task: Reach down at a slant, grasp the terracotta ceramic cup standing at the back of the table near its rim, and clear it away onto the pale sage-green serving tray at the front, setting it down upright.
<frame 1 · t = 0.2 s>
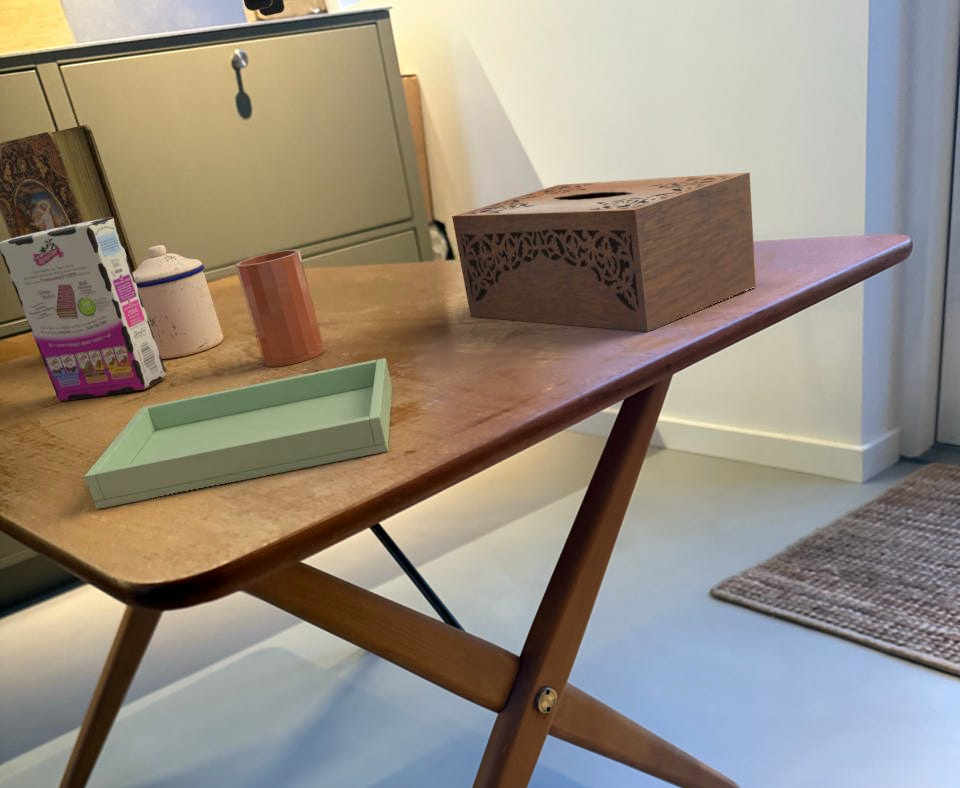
hand: (267, 11, 87), 30 cm above the table, tool pointing down, fingers open, 8 cm apart
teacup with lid: (177, 353, 122), on the table
tray: (257, 443, 82), on the table
cup: (294, 356, 107), on the table
book: (106, 352, 132), on the table
tissue box cover: (604, 304, 102), on the table
candy bar box: (114, 391, 110), on the table
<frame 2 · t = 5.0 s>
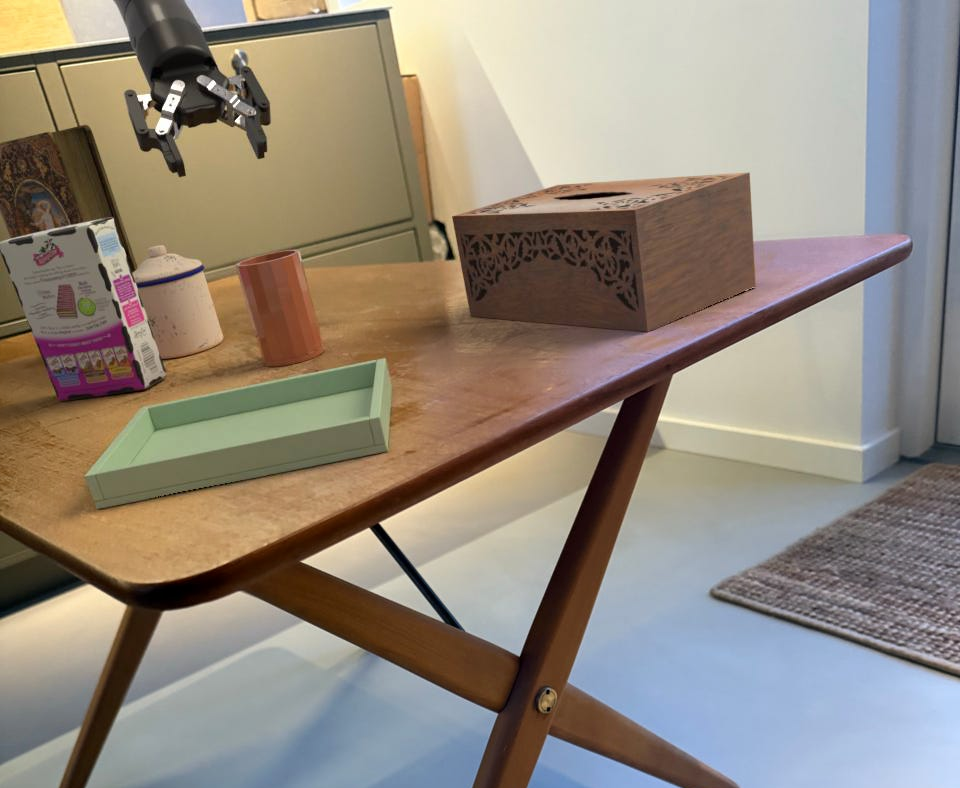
hand: (221, 161, 107), 19 cm above the table, tool tilted 45°, fingers open, 8 cm apart
nothing on the table moved.
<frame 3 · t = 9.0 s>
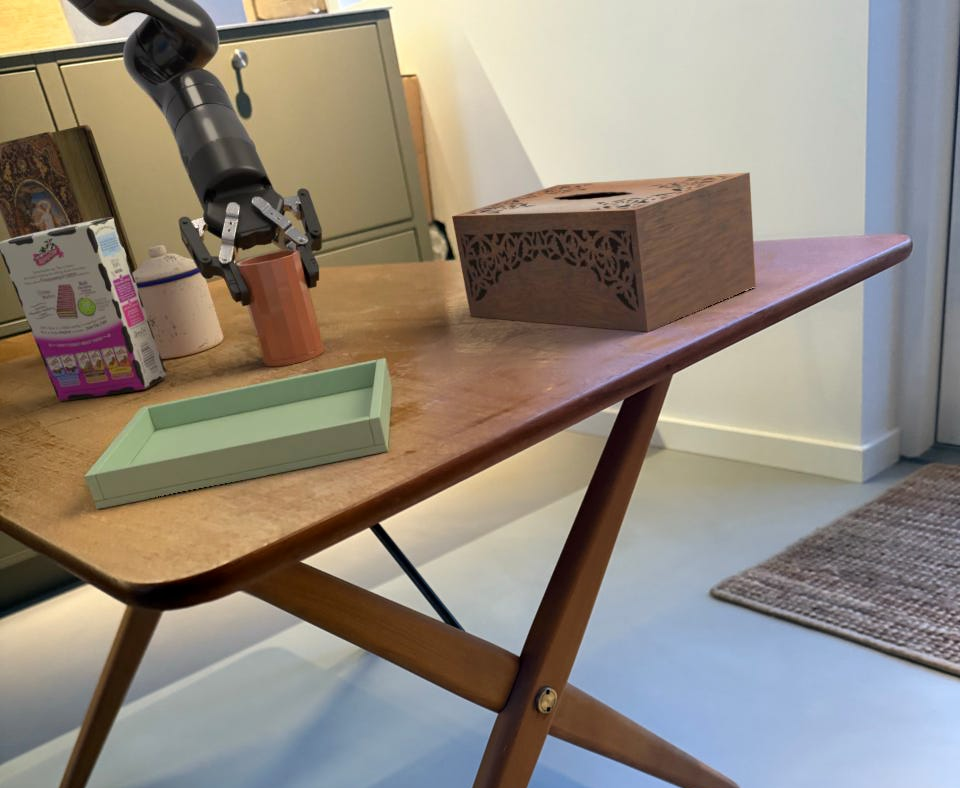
hand: (279, 291, 103), 7 cm above the table, tool tilted 45°, fingers closed on cup, 6 cm apart
cup: (294, 356, 107), on the table, touching gripper
everything else where it was.
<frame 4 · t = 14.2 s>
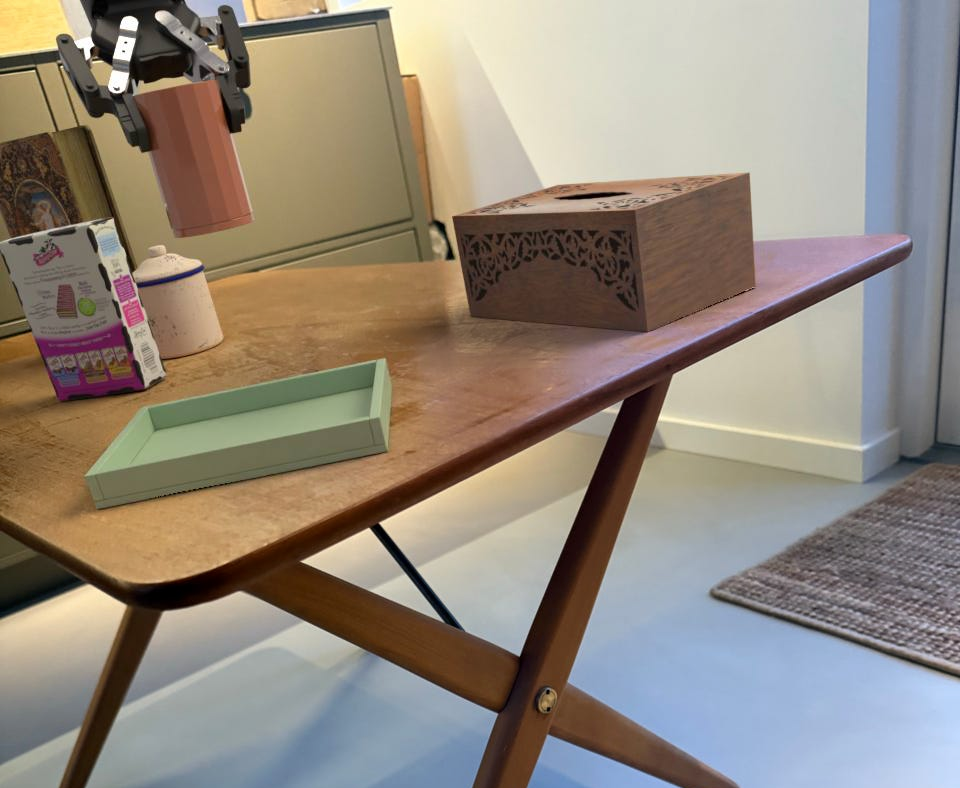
hand: (190, 133, 77), 22 cm above the table, tool tilted 45°, fingers closed on cup, 6 cm apart
cup: (214, 228, 82), point 15 cm above the table, touching gripper
everything else where it was.
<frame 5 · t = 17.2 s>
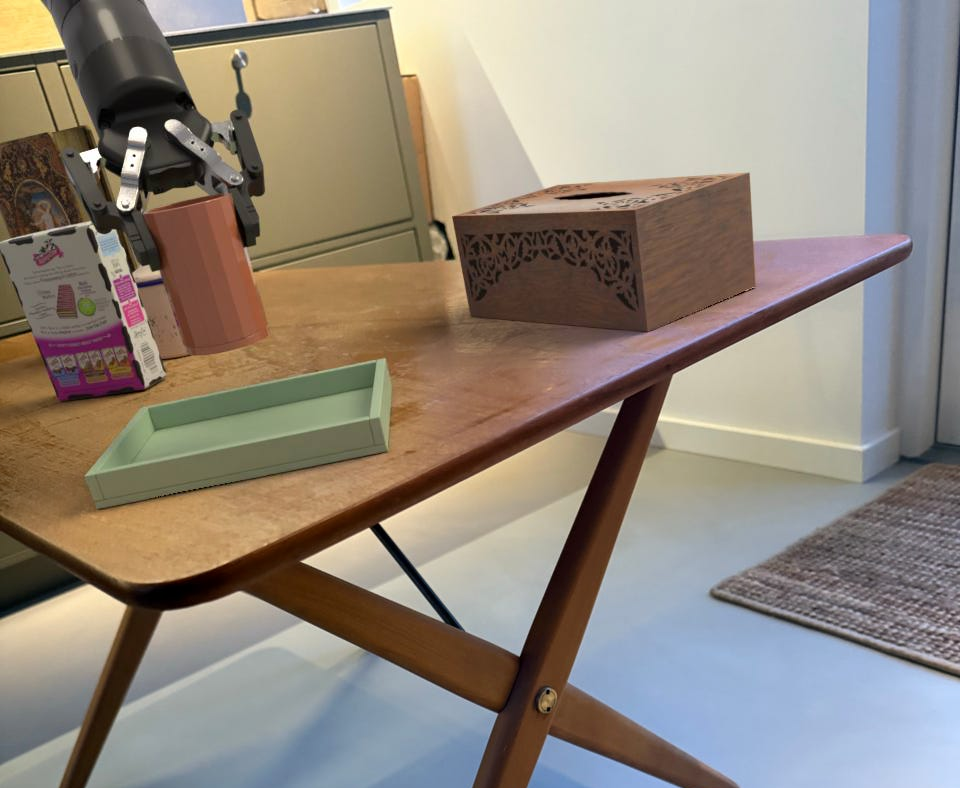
hand: (203, 250, 73), 15 cm above the table, tool tilted 45°, fingers closed on cup, 6 cm apart
cup: (228, 342, 78), point 8 cm above the table, touching gripper
everything else where it was.
when the fingers open (7 cm above the table, at t = 19.8 s): cup stays where it is, resting on tray.
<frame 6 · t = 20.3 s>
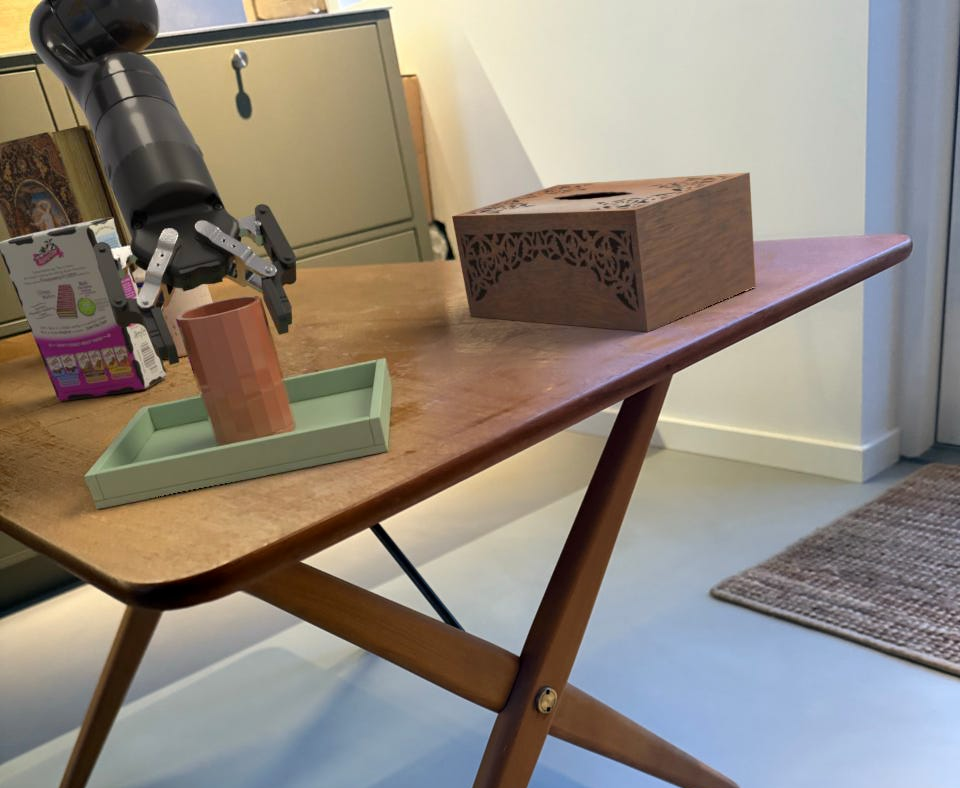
hand: (229, 342, 77), 8 cm above the table, tool tilted 45°, fingers open, 8 cm apart
cup: (256, 435, 82), point 1 cm above the table, touching tray
everything else where it was.
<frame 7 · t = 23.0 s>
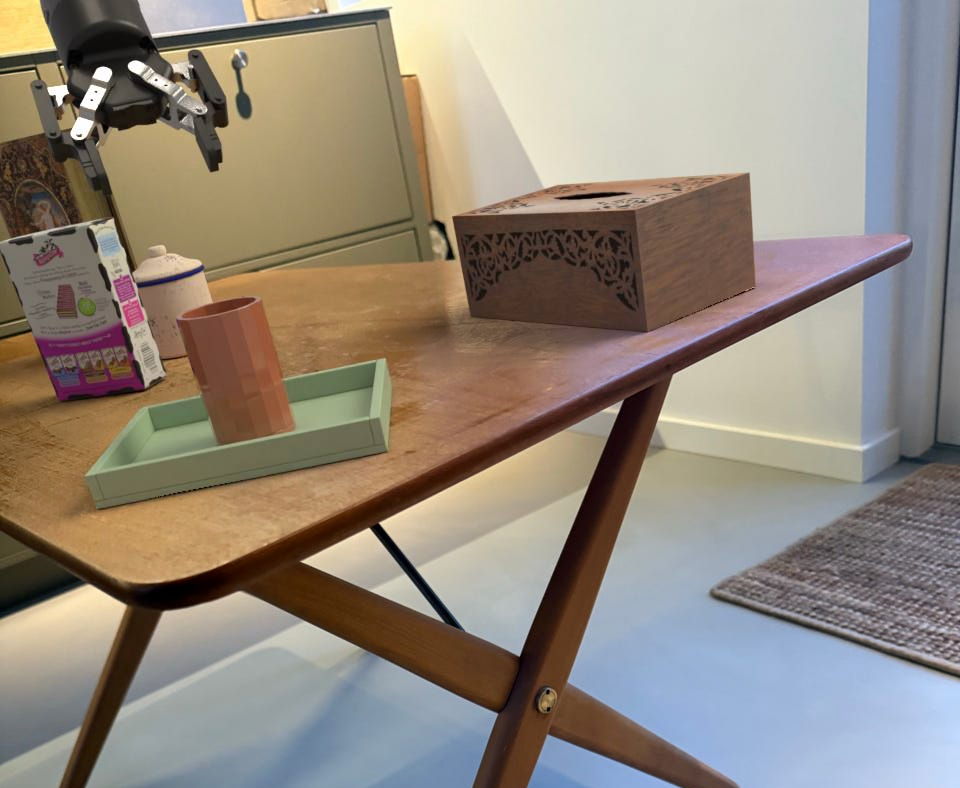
hand: (160, 175, 80), 20 cm above the table, tool tilted 45°, fingers open, 8 cm apart
nothing on the table moved.
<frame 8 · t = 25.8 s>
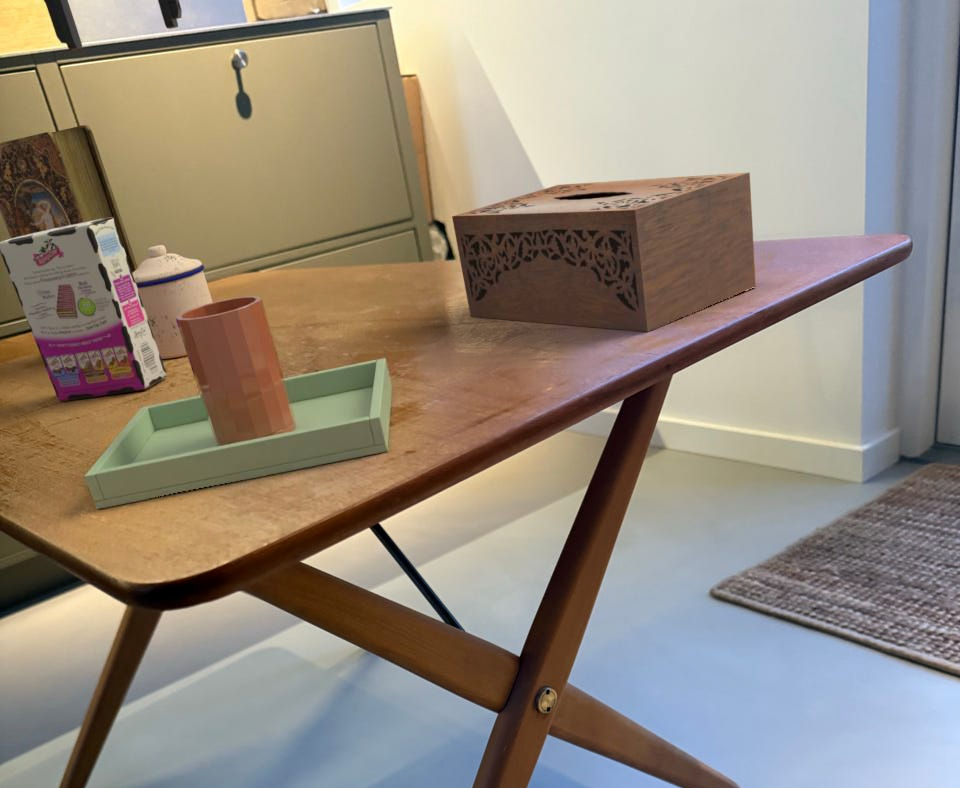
hand: (123, 38, 88), 30 cm above the table, tool pointing down, fingers open, 8 cm apart
nothing on the table moved.
at the end: cup inside the target area in the tray (0.1 cm from its centre), point 0.6 cm above the tray's base; cup tilted 0°; the gripper is holding nothing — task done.
